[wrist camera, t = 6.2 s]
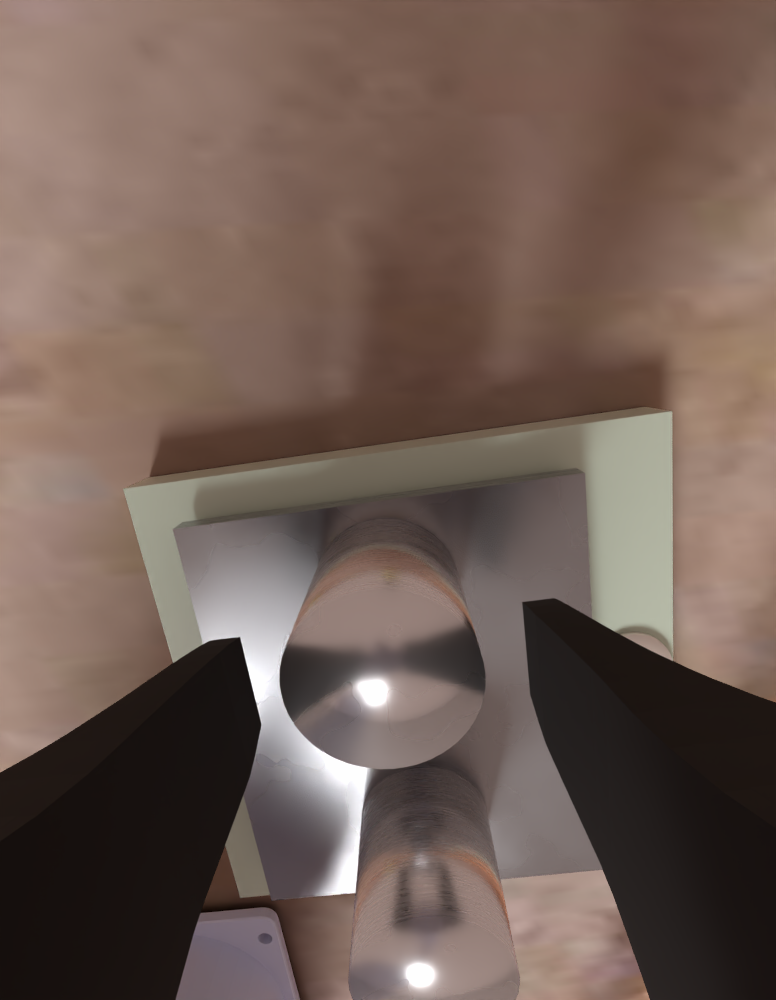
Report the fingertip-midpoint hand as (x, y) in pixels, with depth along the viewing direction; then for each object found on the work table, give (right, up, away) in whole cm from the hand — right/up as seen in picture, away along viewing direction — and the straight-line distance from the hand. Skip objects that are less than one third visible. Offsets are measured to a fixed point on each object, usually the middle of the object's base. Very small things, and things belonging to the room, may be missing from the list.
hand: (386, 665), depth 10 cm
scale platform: (+1, -2, +5) cm, 6 cm away
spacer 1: (0, +1, +3) cm, 3 cm away
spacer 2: (+1, -6, +5) cm, 8 cm away
